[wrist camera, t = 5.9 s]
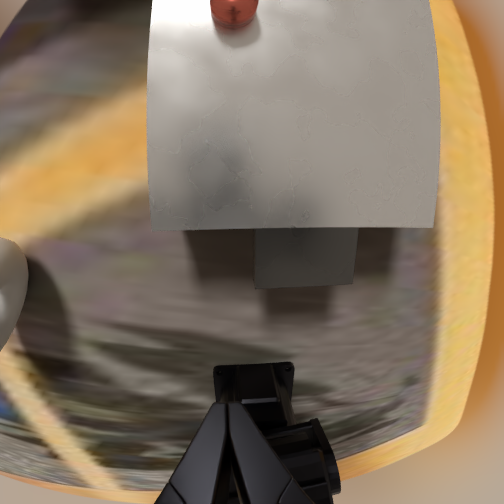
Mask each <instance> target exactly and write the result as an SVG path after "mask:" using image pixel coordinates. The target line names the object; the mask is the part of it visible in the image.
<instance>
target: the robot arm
mask: <svg viewBox="0 0 504 504" xmlns="http://www.w3.org/2000/svg"><path fill="white" fill-rule="evenodd" d="M287 367H290V368H288V369H286V368H287ZM217 371H221V372H217ZM213 377H214V387H215V396H216V402H214V403H213V404H212V406H211V407H210V409H209V411H208V413H207V415H206V416H205V418H204V420H203V422H202V424H201V425H200V427H199V429H198V431H197V432H196V434H195V436H194V438H193V439H192V441H191V443H190V445H189V446H188V448H187V450H186V452H185V453H184V455H183V457H182V459H181V460H180V462H179V464H178V465H177V467H176V469H175V471H174V472H173V474H172V476H171V477H170V479H169V481H168V482H169V483H167V484H166V485H165V487H164V489H163V491H162V492H161V494H160V495H159V497H158V498H157V500H156V501H155V503H154V504H333V498H332V495H335V494H339V493H340V491H341V485H340V484H341V483H340V476H339V471H338V467H337V463H336V459H335V456H334V453H333V451H332V448H331V446H330V444H329V442H328V440H327V438H326V435H325V433H324V431H323V429H322V427H321V425H320V423H319V420H318V418H315V419H311V420H310V421H308V422H303V423H299V424H296V421H295V417H294V413H293V409H292V405H291V396H292V387H293V378H294V365H293V363H291V362H279V363H264V364H246V365H219V366H216V367H214V369H213Z"/></svg>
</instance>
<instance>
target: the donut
mask: <svg viewBox="0 0 504 504" xmlns="http://www.w3.org/2000/svg"><path fill="white" fill-rule="evenodd" d="M28 276H29V274H28V266H27V260H26V258H25V256H24V254H23V252H22V251H21V249H20V247H19V246H18V245H17V244H16V243H15V242H13V241H11V240H8V239H5V238H1V237H0V351H1V350H2V348H3V347H4V345H5V344H6V342H7V341H8V339H9V337H10V335H11V333H12V332H13V330H14V327H15V325H16V323H17V321H18V318H19V316H20V313H21V310H22V307H23V304H24V300H25V296H26V292H27V285H28Z"/></svg>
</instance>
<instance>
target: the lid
mask: <svg viewBox="0 0 504 504" xmlns="http://www.w3.org/2000/svg"><path fill="white" fill-rule="evenodd" d="M439 159H440V87H439V71H438V60H437V50H436V41H435V34H434V27H433V20H432V15H431V9H430V4H429V0H153V4H152V14H151V25H150V38H149V53H148V74H147V161H148V184H149V200H150V215H151V227H152V231H177V230H208V229H247V228H253V281H254V286H255V289H267V288H290V287H310V286H328V285H344V284H352V282H353V274H354V267H355V258H356V250H357V240H358V230H359V227H423V228H433V223H434V215H435V207H436V198H437V188H438V175H439Z"/></svg>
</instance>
